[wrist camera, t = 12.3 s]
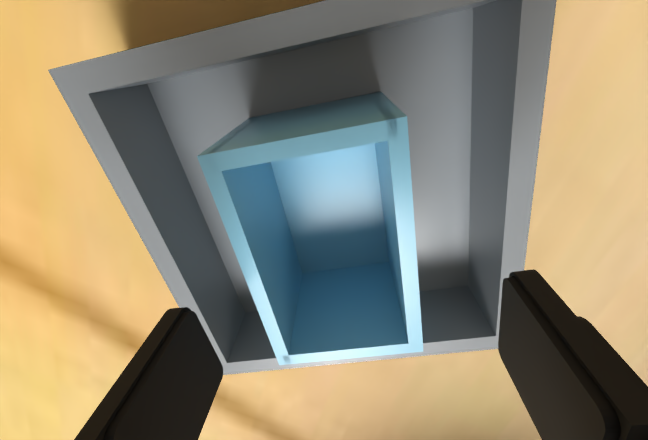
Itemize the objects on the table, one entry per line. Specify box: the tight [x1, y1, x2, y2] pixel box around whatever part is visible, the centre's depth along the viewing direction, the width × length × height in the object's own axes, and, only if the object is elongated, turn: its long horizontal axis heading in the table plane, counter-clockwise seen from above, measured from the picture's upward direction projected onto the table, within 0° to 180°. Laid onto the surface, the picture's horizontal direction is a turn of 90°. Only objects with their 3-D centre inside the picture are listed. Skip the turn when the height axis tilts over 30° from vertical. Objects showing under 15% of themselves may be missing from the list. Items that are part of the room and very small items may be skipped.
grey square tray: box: [48, 0, 556, 375], centre depth 16 cm, size 17×17×5 cm
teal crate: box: [197, 91, 424, 365], centre depth 15 cm, size 6×10×6 cm, turn 11°
